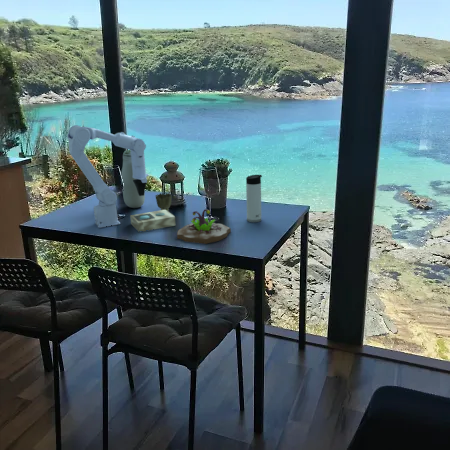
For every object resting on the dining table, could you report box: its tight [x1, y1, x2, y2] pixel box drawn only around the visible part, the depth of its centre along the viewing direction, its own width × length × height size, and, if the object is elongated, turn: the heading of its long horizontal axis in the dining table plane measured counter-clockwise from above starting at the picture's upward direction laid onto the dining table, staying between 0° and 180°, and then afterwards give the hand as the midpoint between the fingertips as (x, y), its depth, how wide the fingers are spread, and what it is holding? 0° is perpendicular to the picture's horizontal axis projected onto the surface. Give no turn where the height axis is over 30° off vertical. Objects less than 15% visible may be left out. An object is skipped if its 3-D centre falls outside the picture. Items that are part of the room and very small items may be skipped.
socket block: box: [129, 209, 176, 232], centre depth 208 cm, size 16×12×4 cm
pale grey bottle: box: [120, 149, 146, 209], centre depth 230 cm, size 10×10×28 cm
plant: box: [176, 208, 232, 245], centre depth 193 cm, size 20×20×11 cm
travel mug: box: [245, 174, 263, 223], centre depth 206 cm, size 6×7×20 cm
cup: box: [154, 192, 173, 212], centre depth 225 cm, size 8×7×8 cm
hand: (141, 195), depth 217 cm, fingers closed
